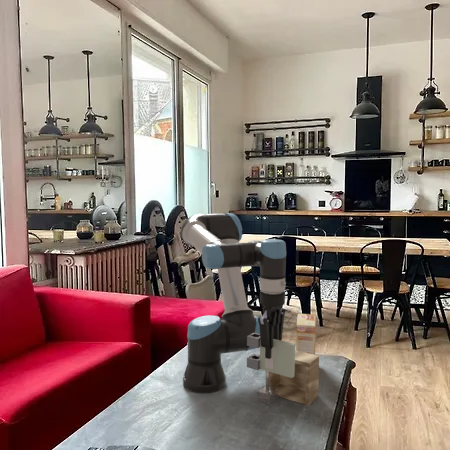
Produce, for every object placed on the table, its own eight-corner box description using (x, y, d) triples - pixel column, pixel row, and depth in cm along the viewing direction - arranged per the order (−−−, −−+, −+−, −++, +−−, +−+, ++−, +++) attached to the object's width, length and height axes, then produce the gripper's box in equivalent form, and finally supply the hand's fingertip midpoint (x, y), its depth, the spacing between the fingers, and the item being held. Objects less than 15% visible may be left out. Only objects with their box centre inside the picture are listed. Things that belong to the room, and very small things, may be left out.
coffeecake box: (314, 378, 165) (315, 326, 163) (294, 376, 166) (295, 324, 165) (314, 362, 180) (315, 314, 178) (296, 360, 181) (297, 313, 179)
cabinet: (257, 400, 148) (258, 358, 147) (277, 384, 160) (278, 346, 158) (300, 413, 140) (301, 370, 138) (318, 396, 151) (319, 355, 150)
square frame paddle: (246, 367, 141) (247, 336, 140) (253, 362, 144) (253, 332, 143) (290, 379, 133) (290, 346, 132) (296, 374, 136) (296, 342, 135)
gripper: (271, 298, 128) (270, 378, 130) (294, 288, 140) (293, 361, 142) (249, 294, 132) (248, 371, 135) (273, 284, 144) (272, 355, 146)
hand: (271, 366), depth 138 cm, fingers closed on square frame paddle, 2 cm apart
